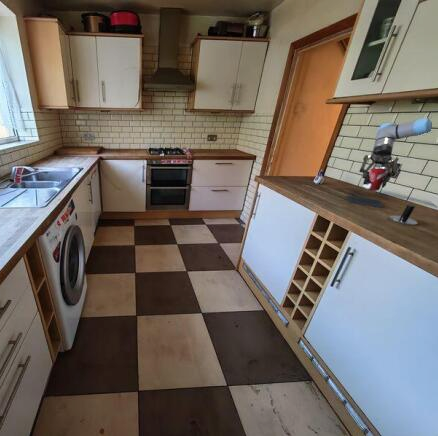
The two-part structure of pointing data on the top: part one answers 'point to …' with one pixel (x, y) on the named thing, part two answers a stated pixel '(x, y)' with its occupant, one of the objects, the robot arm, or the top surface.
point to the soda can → (375, 178)
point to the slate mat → (365, 201)
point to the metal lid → (405, 217)
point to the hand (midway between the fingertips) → (374, 184)
